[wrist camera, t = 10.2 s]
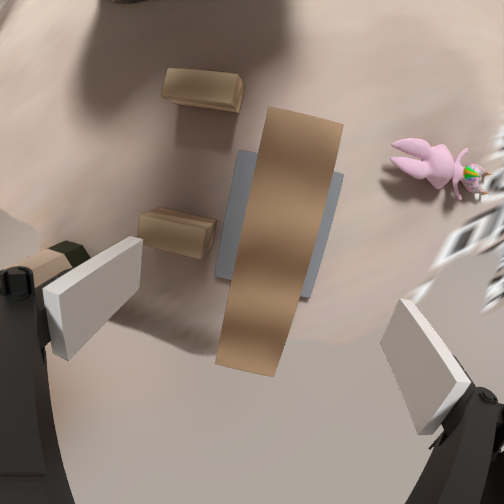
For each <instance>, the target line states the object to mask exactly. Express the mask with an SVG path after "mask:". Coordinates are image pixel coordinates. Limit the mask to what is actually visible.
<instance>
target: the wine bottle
mask: <svg viewBox="0 0 504 504" xmlns="http://www.w3.org/2000/svg"><path fill="white" fill-rule="evenodd" d="M89 259H91V258H90V256H89V255H88V253H87V252H86V250H85V249H84V247H83V245H80V244H76V243H73V242H69V241H63V242H61V243H59V244H56V245H54V246H52V247H50V248H47V249H45V250H43V251H41V252H38V253H36V254H34V255H32V256H30V257H28V258H26V259H23V260H21V261H19V262H17V263H15V264H13V265H11V266H9V267H7V268H10V267H14V266H25V267H28V268H30V269H31V270H32V271H33V276H34V286H35V288H36V287H38V286H39V285H41V284H42V283H44V282H46V281H47V280H49V279H50V280H51V278H52V277H54V276H55V275H56V276H57V274H59V273H60V272H62V271H64V270H66V269H70V268H73V267H77V266H79V265H81V264H82V263H84V262H86V261H87V260H89ZM7 268H5V269H7ZM5 269H3V270H1V271H0V274H1V273H2V271H4V270H5ZM0 295H3V291H2V284H1V278H0Z"/></svg>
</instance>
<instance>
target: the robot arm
mask: <svg viewBox="0 0 504 504" xmlns="http://www.w3.org/2000/svg"><path fill="white" fill-rule="evenodd" d="M112 1H114V2H117V3H135V2H140V1H144V0H112ZM142 248H143V239H140V238H136V237H132V236H129V237H127V238H126V239H124V240H122V241H120V242H118V243H117V244H115V245H113V246H111V247H110V248H108V249H106V250H104V251H103V252H101V253H99V254H98V255H96V256H94V257H92V258H91V259H89V260H87V261H86V262H84V263H82V264H81V265H79V266H77V267H73V268H70V269H66V270H64V271H62V272H60V273H59V274H57V276H56V275H55V276H54V277H52V278H51V280H50V279H49V280H47V281H46V282H44V283H42V284H41V285H39V286H38V287H36V288H35V286H34V276H33V271H32V270H31V269H30V268H28V267H25V266H14V267H10V268H7V269H5V270H4V271H2V273H1V274H0V278H1V284H2V291H3V295H0V504H75V502H74V499H73V496H72V493H71V490H70V487H69V484H68V480H67V477H66V473H65V470H64V466H63V462H62V458H61V454H60V449H59V445H58V440H57V435H56V430H55V425H54V419H53V413H52V407H51V400H50V391H49V383H48V373H47V359H46V351H45V346H46V345H47V343H49V342H50V341H51V346H52V351H53V354H55V355H57V356H59V357H61V358H63V359H65V360H67V361H69V360H70V359H71V358H72V357H73V355H75V354H76V352H77V351H78V350H79V349H80V348H81V347H82V346H83V345H84V344H85V343H86V342H87V341H88V340H89V339H90V338H91V337H92V336H93V335H94V334H95V333H96V332H97V331H98V330H99V329H100V328H101V327H102V326H103V325H104V324H105V323H106V322H107V321H108V320H109V318H110V317H111V316H112V315H113V314H114V313H115V312H116V311H117V310H118V309H120V308H121V307H122V306H123V305H124V304H125V303H126V302H127V301H128V300H129V299H130V298H131V297H132V296H133V295H134V294H135V293H136V292H137V291H138V290H139V289H140V275H141V260H142ZM380 344H381V347H382V349H383V351H384V353H385V355H386V358H387V360H388V362H389V364H390V367H391V369H392V371H393V374H394V376H395V378H396V381H397V383H398V386H399V388H400V390H401V392H402V395H403V398H404V400H405V403H406V405H407V408H408V410H409V413H410V415H411V418H412V420H413V423H414V426H415V428H416V431H417V434H418V435H429V434H433V433H434V432H435V431H436V430H437V428H438V427H439V426H440V425H441V424H442V426H443V428H444V431H443V432H442V433H441V435H440V436H439V437H438V438H437V439H436V440H435V441H434V443H433V444H432V445H431V446H430V447H429V449H431V448H432V447H434V449H433V451H432V453H431V456H430V457H429V460H428V462H427V464H426V466H425V468H424V470H423V472H422V474H421V476H420V478H419V480H418V481H417V483H416V485H415V487H414V489H413V491H412V492H411V494H410V496H409V498H408V499H407V501H406V503H405V504H504V451H503V452H501V448H502V446H503V445H504V404H500V403H498V399H497V397H496V396H495V395H494V394H493V393H492V392H491V391H490V390H488V389H486V388H483V387H477V388H476V386H475V385H474V383H473V382H472V380H471V379H470V377H469V376H468V374H467V373H466V371H464V368H463V367H462V366H461V365H460V363H459V361H458V360H457V358H456V357H455V356H454V355H453V354H452V353H451V352H450V351H449V349H448V348H447V347H446V345H445V344H444V343H443V341H442V340H441V338H440V337H439V336H438V334H437V333H436V332H435V330H434V329H433V328H432V326H431V325H430V324H429V322H428V321H427V320H426V319H425V317H424V316H423V315H422V313H421V312H420V311H419V310H418V308H417V307H416V306H415V305H414V303H413V302H412V301H410V300H405V299H401V298H399V301H398V303H397V306H396V308H395V310H394V313H393V315H392V317H391V320H390V322H389V324H388V326H387V329H386V331H385V333H384V335H383V337H382V339H381V342H380Z"/></svg>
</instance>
